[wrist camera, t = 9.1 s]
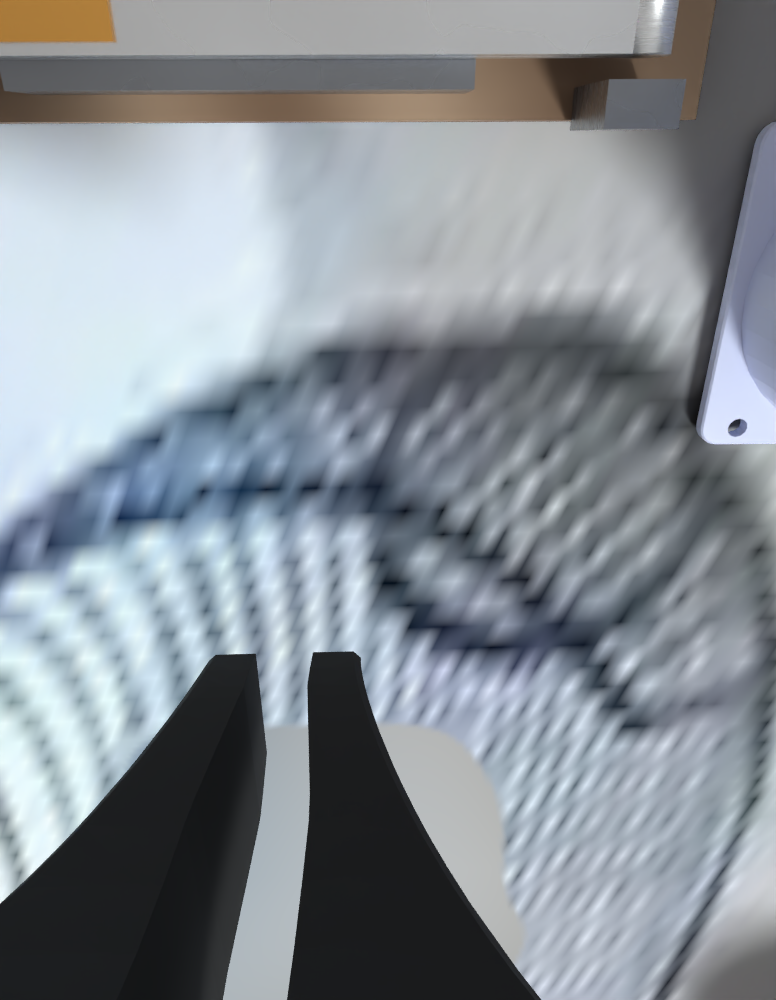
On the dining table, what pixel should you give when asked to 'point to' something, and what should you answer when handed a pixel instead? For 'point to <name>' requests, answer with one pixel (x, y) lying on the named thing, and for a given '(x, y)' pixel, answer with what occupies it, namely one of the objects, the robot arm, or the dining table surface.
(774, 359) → the robot arm
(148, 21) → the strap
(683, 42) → the board
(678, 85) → the hardware
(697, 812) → the dining table surface
